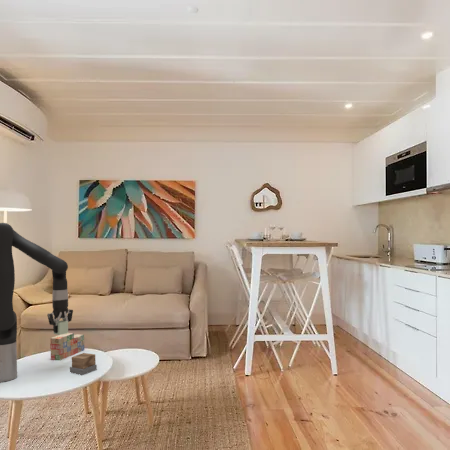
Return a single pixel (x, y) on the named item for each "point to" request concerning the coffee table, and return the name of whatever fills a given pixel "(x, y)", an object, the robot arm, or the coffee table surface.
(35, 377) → the coffee table surface
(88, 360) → the walnut block
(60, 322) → the sage block
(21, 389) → the coffee table surface
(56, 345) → the stack of blocks
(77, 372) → the charcoal slab
